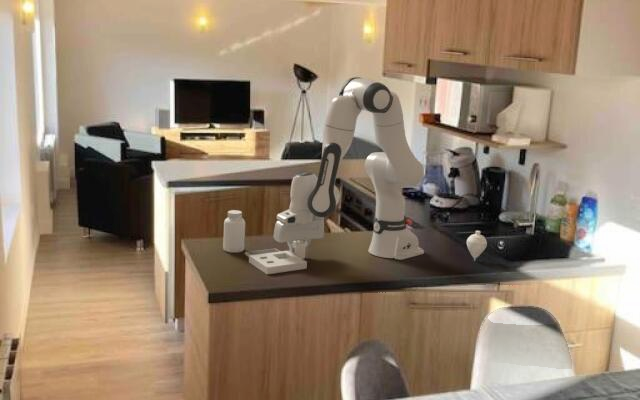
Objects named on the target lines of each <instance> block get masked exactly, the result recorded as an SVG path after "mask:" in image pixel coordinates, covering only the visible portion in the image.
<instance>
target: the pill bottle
mask: <svg viewBox="0 0 640 400" xmlns="http://www.w3.org/2000/svg"><path fill="white" fill-rule="evenodd" d="M245 234H246V221H245V219H244V218H243V212H242V211H241V210H235V209H231V210H228V211H227V217H226V218H225V219H224V222H223V241H222V242H223V244H222V249H223V251H224V252H227V253H233V254H234V253H241V252H243V251H244V250H245V237H246V235H245Z"/></svg>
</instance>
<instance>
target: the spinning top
mask: <svg viewBox="0 0 640 400" xmlns="http://www.w3.org/2000/svg"><path fill="white" fill-rule="evenodd" d="M487 244H488V242H487V239H486V237H485V236H484V235H482V234H481V230H475V233H473V234H471V235H469V236H468V237H467V239H466V246H467V249H468V251H469V253H470V255H471V256H472V258H473V261H474V262H475V261H476V259H477V258H478V257H480V255H481V254H482V253H483V252H484V251H485V249H486V248H487V246H488V245H487Z"/></svg>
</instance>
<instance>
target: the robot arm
mask: <svg viewBox="0 0 640 400" xmlns="http://www.w3.org/2000/svg"><path fill="white" fill-rule="evenodd" d="M327 109H328V110H327V113H326V116H325V119H324V120H325V121H324V126H323V130H322V131H323V133H322V150H321V151H322V152H321V161H320V167H319V171H318V174H317V175H316V174H315V173H313V172H311V171H305V172H298V173H296V174H295V175H294V176H293V178H292V180H291V186H290V195H289V196H290V204H289V208H288V209H286V210H284V211H282V212H280V213H277V215H276V220H277V221H276V222H275V225H274V231H273V239H274V240H275V242H277V243H287V246H288V251H289V252H295V248H294V247H293V246H292V244H293V241H300V240H301V241H304V242H305V243H306V250H305V252H307V251H308V249H309V245H310V244H311V243H312V242H311V241H312V240H317V239H322V238H324V237H325V226H324V225H325V218H326V217H327V218H328V217H329V216H331V215H332V214H333V213H334V211H335V210H336V207H337V206H338V203H339V202H340V200H341V192H340V189H339V188H338V187H337V186H336V182H337V181H336V180H337V175H338V171H339V166H340V164H341V162H342V160H343V158H344V157H345V155H346V154H347V152H348V150H349V149H350V147H351V144H352V142H353V140H354V136H355V133H356V126H357V120H358V117H359V115H360V114H361V113H362V111H366V112H369V113H372V115H373V116H372V121H373V129H374V130H373V131H374V135H375V136H374V137H375V142H376V144H377V146H378V147H379V148H380V149H381V150H382V151H377V152H376V151H375V152H371V153H370V154H369V155H368V156H367V157H366V159H365V162H364V170H365V173H366V175H368V178H370V180H371V183H372V184H373V188H374V192H375V216H374V217H373V223H372V224H373V233H372V235H371V236H372V238H371V241H370V245H369V248H368V250H367V251H368V253H369V254H371V255H373V256H376V257H379V258H384V259H385V258H386V259H393V258H394V260H399V261H401V260H405V259H409V258H413V257H416V256H420V255H423V254H424V253H425V250H424V249H423V248H421V247H420V246H419V239H418V236H417V235H416V234H414V233H413V232H412V231H411V230H410V229H409V228H408V227H407V225H408V226H411V225H413V221H412V220H411V219H409V218H408V219H406V218H405V210H406V209H405V208H406V199H405V197H404V195H403V194H402V193H401V192H400V190H399V187H398V186H401V187H417V186H418V185H419V184H420V183H421V182H422V181H423V179H424V176H425V168H424V165H423V164H422V162H421V161H419V159H418V158H417V157H416V156H415V155H414V153H413V152H412V149H411V147H410V145H409V142H408V140H407V137H406V130H405V122H404V121H405V120H404V113H403V108H402V105H401V100H400V97H399V95H397V93H395V92H393V91H391V90H390V89H389V88H388V86H386V85H385V84H384V83H382V82H378V81H376V80H373V79H370V78H364V77H363V78H362V77H359V76H358V77H357V76H355V77H350V78H349V79H346V81H345V82H344V83H343V84H342V87H341V89H340V91H339V94H338V95H337V96H336V97H335V96H334V97H333V98H332V100H331V102H330V104H329V107H328V108H327Z"/></svg>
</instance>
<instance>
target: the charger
mask: <svg viewBox="0 0 640 400" xmlns="http://www.w3.org/2000/svg"><path fill="white" fill-rule="evenodd" d="M305 242H306V241H304V240H300V241H293V244H292V246H293V247H294V248H295V252H291V253H293V254H294V255H296V256H298V257H300V258H301V259H303V260H305V259H306V251H305V250H306V243H305Z"/></svg>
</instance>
